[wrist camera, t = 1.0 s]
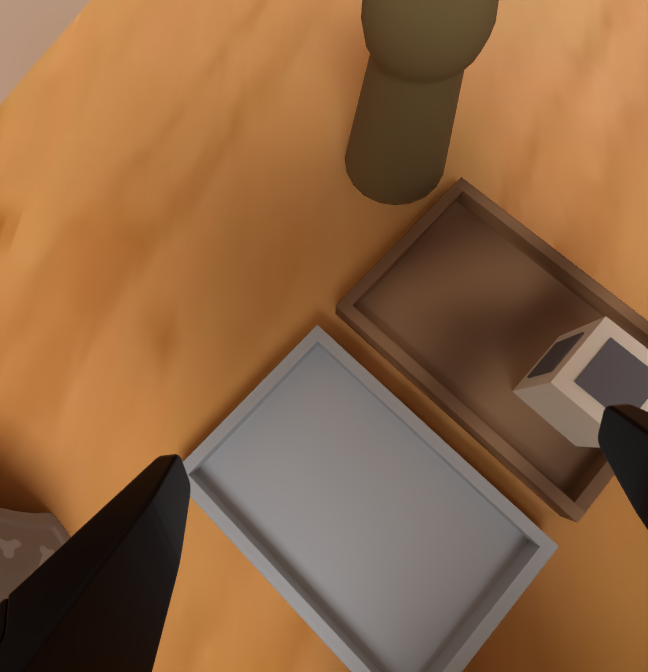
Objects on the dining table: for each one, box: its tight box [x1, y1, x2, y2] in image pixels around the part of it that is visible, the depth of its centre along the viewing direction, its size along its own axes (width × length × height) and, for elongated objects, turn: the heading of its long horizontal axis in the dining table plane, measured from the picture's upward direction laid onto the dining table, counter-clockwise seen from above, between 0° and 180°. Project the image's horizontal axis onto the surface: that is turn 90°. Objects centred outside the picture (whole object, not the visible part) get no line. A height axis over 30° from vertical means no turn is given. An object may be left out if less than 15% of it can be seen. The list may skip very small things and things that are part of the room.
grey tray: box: [183, 325, 559, 672], centre depth 20 cm, size 15×10×2 cm
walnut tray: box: [336, 177, 648, 522], centre depth 22 cm, size 15×10×2 cm
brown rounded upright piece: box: [345, 0, 499, 205], centre depth 20 cm, size 6×6×11 cm
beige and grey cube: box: [512, 316, 648, 448], centre depth 20 cm, size 4×4×4 cm
